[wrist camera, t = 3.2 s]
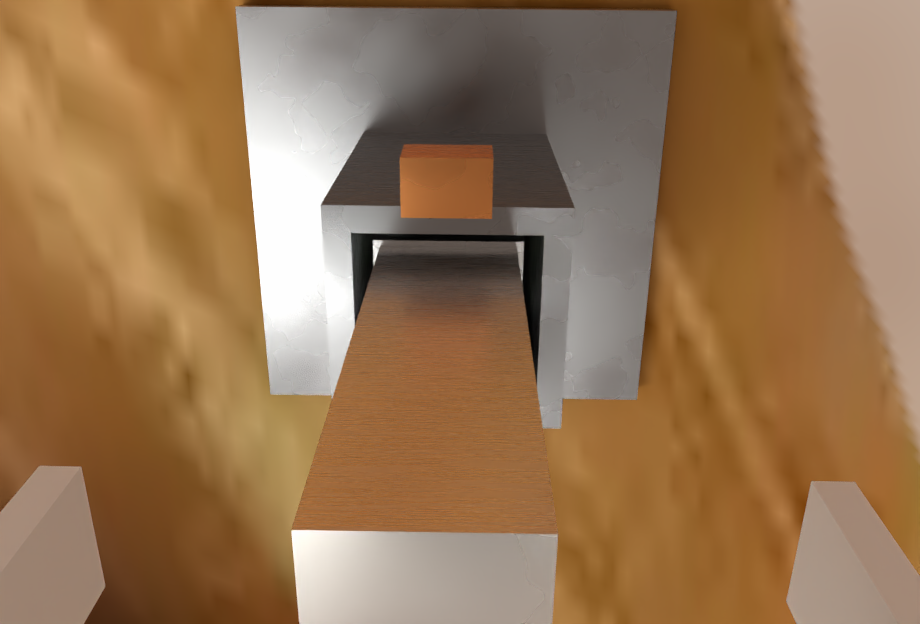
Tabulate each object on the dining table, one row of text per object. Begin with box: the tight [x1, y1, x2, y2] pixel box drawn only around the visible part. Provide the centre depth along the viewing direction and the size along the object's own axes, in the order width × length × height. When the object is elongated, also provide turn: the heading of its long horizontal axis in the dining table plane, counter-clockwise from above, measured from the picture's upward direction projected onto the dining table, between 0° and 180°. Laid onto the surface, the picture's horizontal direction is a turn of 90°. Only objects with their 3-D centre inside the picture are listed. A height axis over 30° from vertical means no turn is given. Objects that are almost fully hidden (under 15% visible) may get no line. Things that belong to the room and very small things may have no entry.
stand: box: [235, 5, 677, 429], centre depth 29 cm, size 16×16×12 cm
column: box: [291, 234, 558, 624], centre depth 24 cm, size 5×5×22 cm
